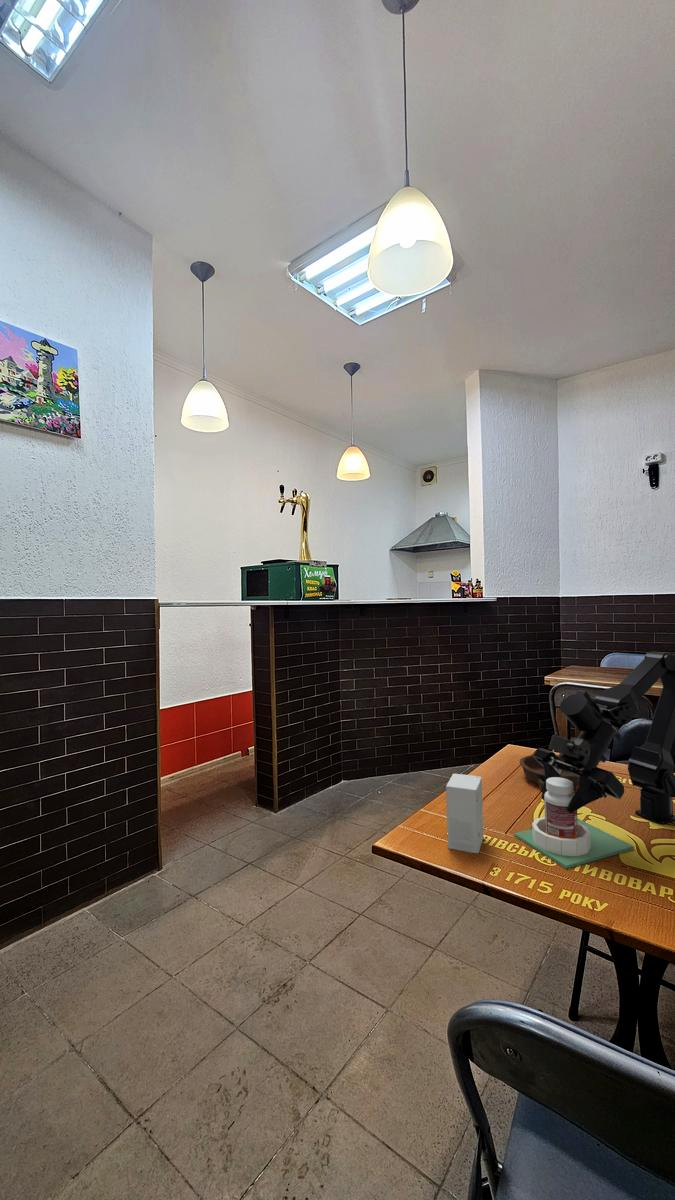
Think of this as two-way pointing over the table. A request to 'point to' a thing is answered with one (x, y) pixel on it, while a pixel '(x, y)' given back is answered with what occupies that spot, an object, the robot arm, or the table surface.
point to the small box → (464, 813)
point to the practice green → (573, 844)
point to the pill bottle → (560, 809)
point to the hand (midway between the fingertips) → (555, 805)
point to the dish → (542, 771)
